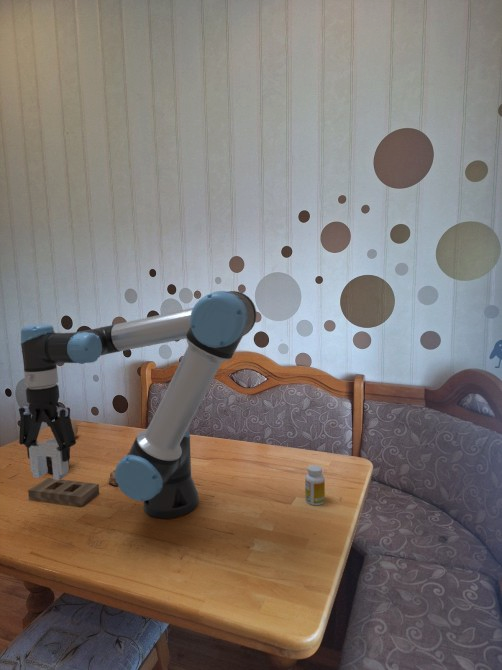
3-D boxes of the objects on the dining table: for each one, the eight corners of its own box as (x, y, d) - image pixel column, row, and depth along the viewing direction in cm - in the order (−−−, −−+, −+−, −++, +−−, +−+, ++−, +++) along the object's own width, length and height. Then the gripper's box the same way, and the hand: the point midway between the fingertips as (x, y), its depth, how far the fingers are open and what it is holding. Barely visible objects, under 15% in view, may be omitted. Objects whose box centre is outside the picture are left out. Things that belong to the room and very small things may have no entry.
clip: (67, 474, 110) (64, 443, 109) (59, 479, 107) (56, 447, 107) (41, 472, 112) (38, 441, 112) (33, 477, 110) (30, 445, 109)
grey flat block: (99, 493, 126) (98, 483, 126) (82, 507, 118) (81, 496, 118) (48, 487, 131) (47, 477, 130) (28, 499, 123) (27, 490, 123)
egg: (77, 435, 177) (76, 416, 176) (79, 439, 172) (78, 420, 171) (60, 438, 174) (59, 418, 173) (62, 442, 168) (60, 422, 168)
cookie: (130, 470, 142) (130, 461, 142) (145, 480, 135) (145, 471, 134) (101, 479, 136) (101, 470, 135) (116, 490, 128) (115, 481, 128)
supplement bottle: (327, 498, 120) (327, 465, 119) (321, 507, 116) (321, 473, 115) (309, 494, 123) (308, 462, 122) (302, 503, 118) (302, 470, 117)
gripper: (-4, 388, 106) (5, 474, 109) (67, 390, 101) (74, 481, 104) (20, 381, 114) (27, 462, 116) (86, 383, 108) (93, 468, 111)
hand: (50, 471), depth 110 cm, fingers closed on clip, 8 cm apart
